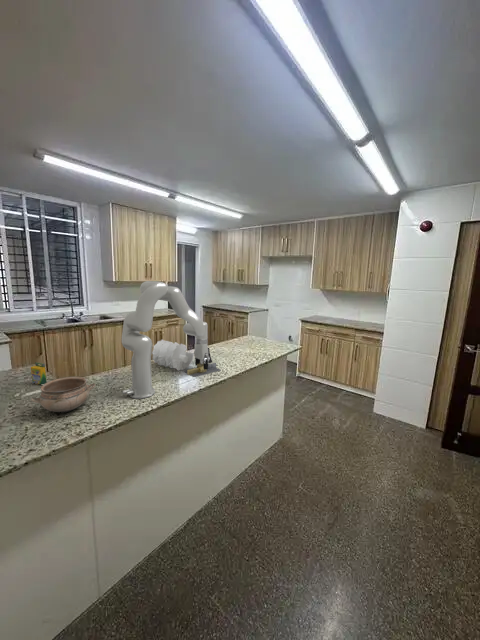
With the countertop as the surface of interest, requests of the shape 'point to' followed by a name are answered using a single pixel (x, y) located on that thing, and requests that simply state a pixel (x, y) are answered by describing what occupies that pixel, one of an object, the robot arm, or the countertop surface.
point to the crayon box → (38, 374)
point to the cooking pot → (64, 394)
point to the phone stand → (209, 356)
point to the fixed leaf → (209, 365)
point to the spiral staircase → (171, 355)
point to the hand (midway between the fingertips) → (201, 367)
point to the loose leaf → (196, 369)
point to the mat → (204, 372)
